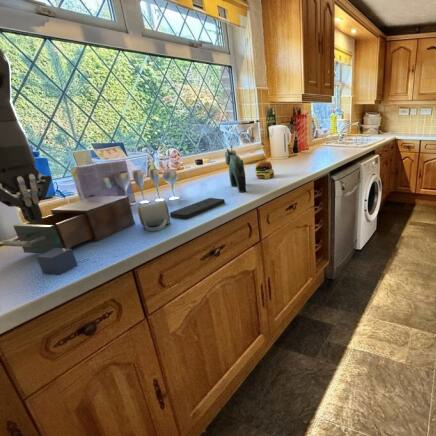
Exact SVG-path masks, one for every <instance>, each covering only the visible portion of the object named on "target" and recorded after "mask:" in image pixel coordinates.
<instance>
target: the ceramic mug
mask: <svg viewBox="0 0 436 436" xmlns="http://www.w3.org/2000/svg"><path fill="white" fill-rule="evenodd" d="M137 208H138V209H137V213H138V218H139V221H140V225H142V226H143V227H144V228H145V229H146V230H147V231H148V232H158V231H161V230H163V229H164V228H165V227H166V225H168V224H171V222H172V221H171V216H170V212H169V208H168V204H167V202H166V200H163V201H154V202H150V203H144V204H143V205H139V207H137Z"/></svg>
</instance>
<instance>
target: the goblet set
mask: <svg viewBox="0 0 436 436" xmlns="http://www.w3.org/2000/svg"><path fill="white" fill-rule="evenodd" d="M128 172H129V171H128ZM128 172H121V174H114V173H113V177H114V181H115V183H116V184H117V185H118V186H119V187H120V188H121V189H122V190H123V191H124V193H125V195H126V196H127V192H126V190H127V187H128V185H129V183H130V180H131V177H130V178H129V176H130V173H129V174H128ZM131 173H132V178H133V181H134V183H135V184H136V185H137V187H138V188H139V189H140V193H141V196H142V200H141V201H139V202H138V204H149V203H151V202H150V200H145V197H144V193H143V192H144V191H143V187H144V182H145V176H144V173H143V171H142V169H133V170H132V172H131ZM148 175H149V179H150V181H151V182H152V184H153V185H154V187H155V189H156V193H157V196H158V198H156V199H154V202H160V201H166V200H165V198H162V197H161V196H160V192H159V182H160V173H159V170H158V169H157V168H150V169H148ZM178 175H179V174H178V173H177V171H176V169H165V170H162V174H161V176H162V180H163V181H164V182H165V183H167V184H168V185H169V186H170V188H171V190H172V195H173V196H170V197H168V200H180V199H181V196H179V195H178V196H177V195H176V194H175V191H174V185H175V183H176V182H177V181H178V178H179V176H178ZM103 183H104V185H105V187H107V188H111V187H112V180H111V178H110V177H108V178H103ZM160 197H161V198H160ZM129 203H130V206H133V205H135V204H136V202H129Z"/></svg>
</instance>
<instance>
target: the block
mask: <svg viewBox="0 0 436 436" xmlns="http://www.w3.org/2000/svg"><path fill="white" fill-rule="evenodd" d="M35 258H36V260H37V262H38V265H39V267H40V270H41V272H42V274H43V275H52V276H60V275H62V274H64V273H66V272H68V271H70V270H72V269H74V268H75V267H78V262H77V260H76V256H75V254H74V252H73V248H68V249H67V248H55V249H52V250H50V251H48V252H45V253H43V254H38V255H36V256H35Z"/></svg>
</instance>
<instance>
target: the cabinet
mask: <svg viewBox="0 0 436 436" xmlns="http://www.w3.org/2000/svg"><path fill="white" fill-rule="evenodd" d="M58 212H63V213H86V215H87V218H88V221H89V224H90V227H91V230H92V233H93V236H94V237H93V238H91V239H88V240H86V241H85V242H96V243H97V242H100V241H102V240H104V239H106V238H108V237H110V236H112V235H115V234H117V233H119V232H121V231H123V230H125V229H127V228H129V227H131V226H134V225H136V222H135V217H134V215H133V211H132V207H131V205H130V203H129V199H128V196H93V197H90V198H86V199H83V200H80V199H79V200H77V201H74V202H71V203H67V204H64V205H61V206H57V207H55V208H51V209H50V213H51V215H52V214H55V213H58Z"/></svg>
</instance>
